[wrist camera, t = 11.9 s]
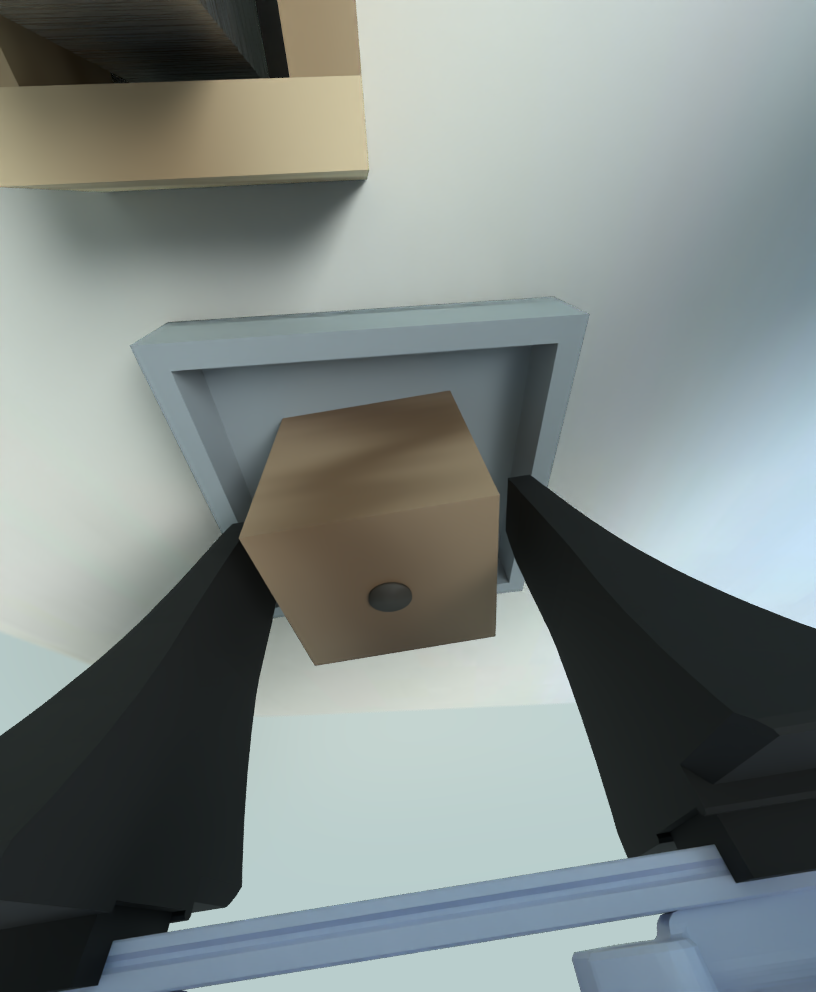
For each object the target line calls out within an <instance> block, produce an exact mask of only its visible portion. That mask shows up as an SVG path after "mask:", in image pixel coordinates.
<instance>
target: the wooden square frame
mask: <svg viewBox="0 0 816 992" xmlns="http://www.w3.org/2000/svg"><path fill="white" fill-rule="evenodd" d="M277 2H278V8H279V14H280V21H281V27H282V33H283V39H284V46H285V52H286V58H287V64H288V70H289V77H290V78H265V79H235V80H204V81H174V82H144V83H114V82H113V79H112V77H111V74H110V72H109V71H107V70H105V69H104V68H102V67H100V66H98V65H96V64H94V63H92V62H90V61H88V60H86V59H84V58H82V57H81V56H79V55H77V54H75V53H73V52H71V51H69V50H67V49H65V48H63V47H61V46H59V45H58V44H56V43H54V42H52V41H50V40H48V39H46V38H44V37H42V36H40V35H38V34H36V33H35V32H33V31H31V30H29V29H27V28H25V27H23V26H21V25H19V24H17V23H15V22H13V21H12V20H10V19H8V18H6V17H4V16H2V15H0V187H5V188H28V189H50V190H72V191H94V192H114V191H135V190H156V189H176V188H197V187H218V186H239V185H260V184H281V183H302V182H323V181H344V180H365V179H367V176H368V172H369V165H368V152H367V139H366V127H365V114H364V102H363V89H362V77H361V64H360V51H359V39H358V26H357V14H356V1H355V0H277Z"/></svg>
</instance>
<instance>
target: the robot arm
mask: <svg viewBox="0 0 816 992" xmlns="http://www.w3.org/2000/svg"><path fill="white" fill-rule="evenodd" d="M243 525H244V522H240V523H234V524H232V525H231V526H230V527H229V528H228V529H227V530H226V531H225V532H224V533H223V534H222V535H221V536H220V537H219V538H218V539H217V541H216V542H215V543H214V544H213V545H212V546H211V547H210V548H209V550H208V551H207V552H206V553H205V554H204V555H203V556H202V557H201V559H200V560H199V561H198V562H197V563H196V564H195V565H194V566H193V567H192V568H191V570H190V571H189V572H188V573H187V574H186V575H185V576H184V577H183V578H182V579H181V581H180V582H179V583H178V584H177V585H176V586H175V587H174V588H173V589H172V590H171V591H170V592H169V593H168V594H167V595H166V596H165V597H164V598H163V599H162V600H161V601H160V602H159V603H158V604H157V605H156V606H155V607H154V609H153V610H152V611H151V612H150V613H149V614H148V615H147V616H146V617H145V618H144V619H143V620H142V621H141V622H140V623H138V624H137V625H136V626H135V627H134V628H133V629H132V630H131V631H130V632H129V633H128V634H127V635H126V636H125V637H124V638H122V639H121V640H120V641H119V642H118V643H117V644H116V645H115V646H113V647H112V648H111V649H110V650H109V651H108V652H107V653H106V654H104V655H103V656H102V657H101V658H100V659H99V660H97V661H96V662H95V663H94V664H93V665H91V666H90V667H89V668H88V669H87V670H85V671H84V672H83V673H82V674H80V675H79V676H78V677H77V678H75V679H74V680H73V681H72V682H70V683H69V684H68V685H67V686H66V687H64V688H63V689H62V690H61V691H59V692H58V693H57V694H56V695H54V696H53V697H52V698H51V699H49V700H48V701H47V702H45V703H44V704H43V705H42V706H40V707H39V708H38V709H36V710H35V711H33V712H32V713H31V714H29V716H27V717H25V718H24V719H23V720H22V721H20V722H19V723H17V724H16V725H15V726H13V727H12V728H11V729H9V730H8V731H6V732H5V733H4V734H2V735H1V736H0V992H187V991H183V990H186V989H193V988H199V987H205V986H211V985H218V984H223V983H230V982H236V981H242V980H248V979H255V978H261V977H267V976H274V975H280V974H287V973H293V972H299V971H305V970H311V969H318V968H324V967H330V966H336V965H343V964H349V963H355V962H361V961H368V960H373V959H380V958H387V957H393V956H399V955H406V954H412V953H418V952H424V951H430V950H437V949H443V948H449V947H455V946H462V945H468V944H474V943H481V942H487V941H493V940H499V939H506V938H512V937H518V936H525V935H530V934H537V933H543V932H550V931H556V930H562V929H568V928H575V927H580V926H587V925H593V924H600V923H606V922H612V921H618V920H625V919H631V918H637V917H644V916H649V915H656V914H662V913H664V914H662V915H660V917H659V920H658V922H657V936H656V938H655V939H654V940H648V941H639V942H632V943H625V944H619V945H613V946H607V947H601V948H596V949H591V950H585V951H579V952H574V954H573V957H572V962H573V965H574V968H575V972H576V976H577V979H578V983H579V986H580V990H581V992H816V629H815V628H812V627H810V626H807V625H804V624H801V623H798V622H796V621H793V620H791V619H788V618H785V617H783V616H780V615H778V614H775V613H773V612H770V611H768V610H765V609H763V608H760V607H758V606H755V605H753V604H750V603H748V602H746V601H743V600H741V599H738V598H736V597H734V596H731V595H729V594H727V593H724V592H722V591H720V590H718V589H716V588H714V587H711V586H709V585H707V584H705V583H703V582H701V581H698V580H696V579H694V578H692V577H690V576H688V575H686V574H684V573H682V572H680V571H678V570H676V569H674V568H672V567H670V566H668V565H666V564H664V563H662V562H660V561H659V560H657V559H655V558H653V557H651V556H649V555H647V554H646V553H644V552H642V551H640V550H638V549H637V548H635V547H633V546H632V545H630V544H628V543H626V542H625V541H623V540H622V539H620V538H618V537H617V536H615V535H614V534H612V533H611V532H609V531H607V530H606V529H604V528H603V527H601V526H600V525H598V524H597V523H595V522H594V521H592V520H591V519H589V518H588V517H586V516H585V515H584V514H582V513H581V512H579V511H578V510H576V509H575V508H574V507H572V506H571V505H570V504H568V503H567V502H565V501H564V500H563V499H561V498H560V497H559V496H557V495H556V494H555V493H554V492H552V491H551V490H550V489H548V488H547V487H546V486H544V485H543V484H542V483H540V482H539V481H538V480H537V479H535V478H534V477H532V476H531V475H530V474H529V475H523V476H517V477H511V478H508V488H507V509H506V530H505V531H506V534H507V537H508V540H509V543H510V546H511V549H512V552H513V555H514V558H515V560H516V563H517V565H518V567H519V569H520V571H521V573H522V575H523V578H524V580H525V582H526V584H527V586H528V588H529V590H530V592H531V594H532V596H533V598H534V600H535V602H536V604H537V606H538V609H539V611H540V613H541V615H542V617H543V619H544V621H545V623H546V625H547V627H548V629H549V631H550V634H551V636H552V638H553V641H554V643H555V645H556V648H557V650H558V653H559V656H560V659H561V661H562V664H563V667H564V669H565V672H566V675H567V678H568V680H569V683H570V686H571V689H572V692H573V695H574V697H575V700H576V703H577V706H578V709H579V712H580V714H581V717H582V720H583V723H584V726H585V729H586V733H587V735H588V739H589V742H590V745H591V748H592V751H593V754H594V757H595V760H596V763H597V766H598V769H599V773H600V776H601V779H602V782H603V786H604V789H605V792H606V795H607V799H608V802H609V805H610V808H611V812H612V815H613V819H614V822H615V826H616V829H617V832H618V835H619V838H620V840H621V843H622V845H623V848H624V850H625V852H626V855H627V857H628V858H627V859H620V860H614V861H608V862H602V863H595V864H590V865H583V866H577V867H570V868H564V869H558V870H552V871H546V872H539V873H534V874H528V875H521V876H515V877H508V878H502V879H496V880H490V881H483V882H477V883H471V884H465V885H458V886H452V887H446V888H439V889H434V890H427V891H421V892H415V893H408V894H402V895H396V896H390V897H384V898H378V899H371V900H365V901H358V902H352V903H346V904H340V905H334V906H327V907H321V908H315V909H309V910H303V911H297V912H290V913H284V914H277V915H271V916H265V917H259V918H253V919H247V920H240V921H234V922H228V923H221V924H215V925H209V926H203V927H197V928H190V929H184V930H178V931H172V932H167V931H168V927H169V924H170V923H174V922H180V921H187V920H189V918H190V916H191V913H194V912H199V911H206V910H212V909H218V908H225V907H227V906H228V905H229V904H230V903H231V902H232V900H233V899H234V898H235V896H236V895H237V893H238V892H239V890H240V889H241V887H242V862H243V837H244V836H243V835H244V814H245V800H246V786H247V772H248V762H249V752H250V741H251V732H252V723H253V716H254V708H255V700H256V693H257V687H258V682H259V676H260V672H261V668H262V663H263V659H264V655H265V650H266V646H267V642H268V637H269V633H270V629H271V624H272V620H273V615H274V611H275V606H276V600H275V598H274V596H273V595H272V593H271V591H270V590H269V588H268V586H267V585H266V583H265V581H264V580H263V578H262V576H261V575H260V573H259V571H258V570H257V568H256V566H255V565H254V563H253V561H252V560H251V558H250V556H249V555H248V553H247V551H246V550H245V548H244V546H243V545H242V543H241V541H240V540H239V536H240V533H241V530H242V528H243Z"/></svg>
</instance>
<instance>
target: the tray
mask: <svg viewBox="0 0 816 992" xmlns="http://www.w3.org/2000/svg"><path fill="white" fill-rule="evenodd" d="M588 318H589V313H587V312H584V311H582V310H580V309H578V308H576V307H574V306H572V305H570V304H568V303H566V302H564V301H562V300H560V299H558V298H555V297H544V298H529V299H514V300H499V301H483V302H468V303H453V304H438V305H423V306H408V307H393V308H377V309H362V310H347V311H332V312H317V313H302V314H287V315H272V316H256V317H241V318H226V319H211V320H196V321H181V322H168V323H166V324H164V325H163V326H161V327H159V328H158V329H156V330H154V331H153V332H151V333H150V334H148V335H146V336H145V337H143V338H141V339H140V340H138V341H137V342H135V343H133V344H132V345H130V347H131V349H132V351H133V353H134V355H135V357H136V359H137V361H138V363H139V365H140V368H141V370H142V372H143V374H144V376H145V378H146V380H147V382H148V384H149V386H150V388H151V390H152V392H153V394H154V396H155V398H156V400H157V402H158V404H159V406H160V408H161V410H162V412H163V414H164V416H165V418H166V420H167V422H168V425H169V427H170V429H171V431H172V433H173V435H174V437H175V439H176V441H177V443H178V445H179V447H180V449H181V451H182V453H183V455H184V457H185V459H186V461H187V463H188V465H189V467H190V469H191V471H192V473H193V475H194V477H195V479H196V482H197V484H198V486H199V488H200V490H201V492H202V494H203V496H204V498H205V500H206V502H207V504H208V506H209V508H210V510H211V512H212V514H213V516H214V518H215V520H216V522H217V524H218V526H219V528H220V530H221V532H222V534H223V533H224V532H225V531H226V530H227V529H228V528H229V527H230V526H231V525H232V524H234V523H240V522H245V520H246V517H247V514H248V511H249V509H250V506H251V503H252V500H253V498H254V495H255V492H256V490H257V487H258V484H259V481H260V479H261V476H262V473H263V470H264V468H265V465H266V462H267V460H268V457H269V454H270V451H271V449H272V446H273V443H274V441H275V438H276V435H277V432H278V430H279V427H280V424H281V421H282V419H283V418H288V417H294V416H300V415H306V414H312V413H318V412H324V411H330V410H336V409H342V408H348V407H354V406H360V405H366V404H372V403H378V402H384V401H390V400H396V399H401V398H407V397H413V396H419V395H425V394H431V393H437V392H443V391H449V390H450V391H451V393H452V396H453V398H454V400H455V402H456V404H457V406H458V408H459V410H460V412H461V414H462V417H463V419H464V421H465V423H466V425H467V427H468V429H469V431H470V433H471V436H472V438H473V440H474V442H475V444H476V446H477V448H478V450H479V452H480V454H481V457H482V459H483V461H484V463H485V465H486V467H487V469H488V471H489V473H490V475H491V478H492V480H493V482H494V484H495V486H496V488H497V490H498V492H499V494H500V501H499V534H498V566H497V593H506V592H515V591H522V589H523V585H524V578H523V575H522V573H521V571H520V569H519V567H518V565H517V563H516V560H515V558H514V555H513V552H512V549H511V546H510V543H509V540H508V537H507V534H506V531H505V530H506V509H507V488H508V478H511V477H517V476H523V475H529V474H530V475H531V476H532V477H534V478H535V479H537V480H538V481H539V482H540V483H542V484H543V485H544V486H546V487H547V486H548V482H549V478H550V474H551V470H552V466H553V462H554V458H555V454H556V449H557V445H558V441H559V437H560V433H561V429H562V425H563V421H564V417H565V413H566V408H567V404H568V400H569V396H570V392H571V388H572V384H573V380H574V376H575V372H576V368H577V363H578V359H579V355H580V351H581V347H582V343H583V339H584V335H585V331H586V327H587V322H588ZM284 616H285V615H284V613H283V612H282V610H281V608H280V607H279V605H278V603H277V602H276V606H275V611H274V615H273V618H275V617H284Z"/></svg>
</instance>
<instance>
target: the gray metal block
mask: <svg viewBox="0 0 816 992" xmlns="http://www.w3.org/2000/svg"><path fill="white" fill-rule="evenodd" d="M0 15H2V16H4V17H6V18H8V19H10V20H12V21H13V22H15V23H17V24H19V25H21V26H23V27H25V28H27V29H29V30H31V31H33V32H35V33H36V34H38V35H40V36H42V37H44V38H46V39H48V40H50V41H52V42H54V43H56V44H58V45H59V46H61V47H63V48H65V49H67V50H69V51H71V52H73V53H75V54H77V55H79V56H81V57H82V58H84V59H86V60H88V61H90V62H92V63H94V64H96V65H98V66H100V67H102V68H104V69H105V70H107V71H109V72H111V73H113V74H115V75H117V76H119V77H121V78H123V79H125V80H127V81H128V82H130V83H144V82H174V81H204V80H235V79H265V78H269V73H268V68H267V62H266V57H265V51H264V46H263V41H262V35H261V30H260V24H259V19H258V14H257V8H256V3H255V0H0Z"/></svg>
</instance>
